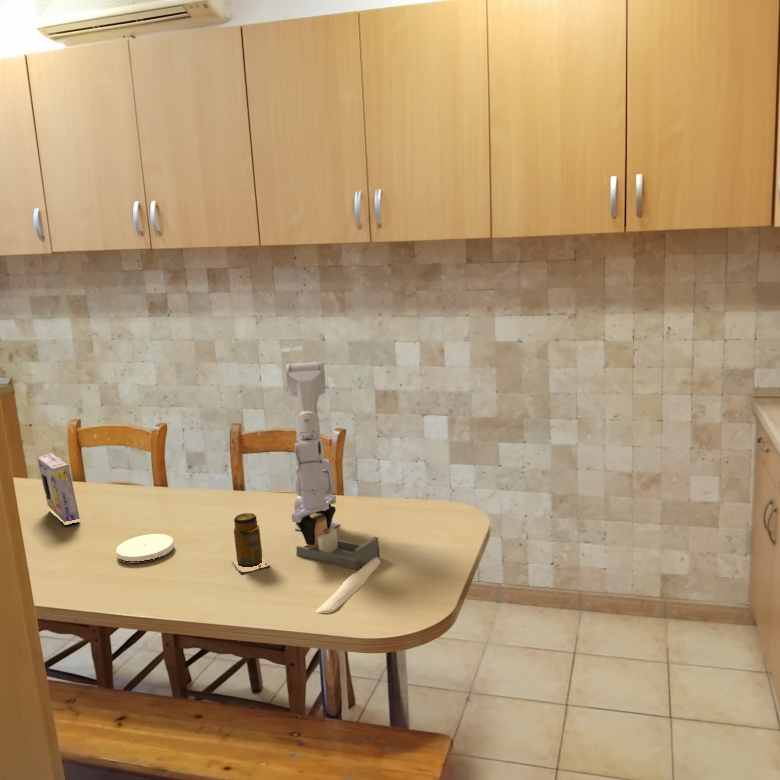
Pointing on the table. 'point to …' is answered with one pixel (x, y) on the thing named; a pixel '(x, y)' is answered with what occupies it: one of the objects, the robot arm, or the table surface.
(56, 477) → the cake pan box
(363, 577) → the spatula
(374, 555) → the grey tray
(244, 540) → the condiment
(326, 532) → the pusher
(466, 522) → the table surface
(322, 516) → the jar
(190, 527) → the table surface
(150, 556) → the plastic lid
